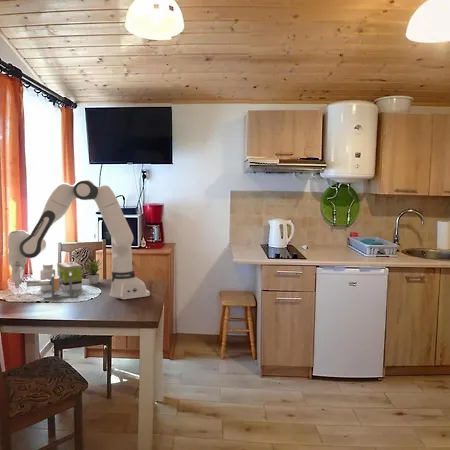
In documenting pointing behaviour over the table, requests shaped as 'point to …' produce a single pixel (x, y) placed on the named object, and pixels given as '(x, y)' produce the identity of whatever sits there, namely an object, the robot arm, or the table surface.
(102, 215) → the robot arm
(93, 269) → the house plant
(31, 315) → the table surface
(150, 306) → the table surface
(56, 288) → the spacer
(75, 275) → the tea box
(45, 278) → the pill bottle
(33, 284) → the shaft
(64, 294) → the grey post stand
